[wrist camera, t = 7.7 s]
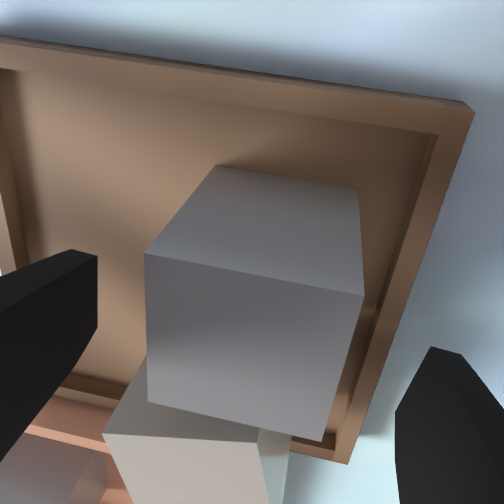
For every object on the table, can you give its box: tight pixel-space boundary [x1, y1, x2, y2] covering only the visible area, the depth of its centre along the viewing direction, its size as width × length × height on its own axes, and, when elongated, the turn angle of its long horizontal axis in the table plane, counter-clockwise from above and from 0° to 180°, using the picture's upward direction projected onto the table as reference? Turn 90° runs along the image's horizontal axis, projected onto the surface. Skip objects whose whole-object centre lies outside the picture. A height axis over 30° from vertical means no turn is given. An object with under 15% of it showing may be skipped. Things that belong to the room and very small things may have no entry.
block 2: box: [144, 165, 365, 442], centre depth 11 cm, size 4×4×5 cm
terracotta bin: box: [24, 395, 134, 504], centre depth 20 cm, size 9×13×2 cm
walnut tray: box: [0, 35, 475, 465], centre depth 14 cm, size 13×13×1 cm
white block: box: [102, 354, 292, 504], centre depth 14 cm, size 4×4×5 cm
